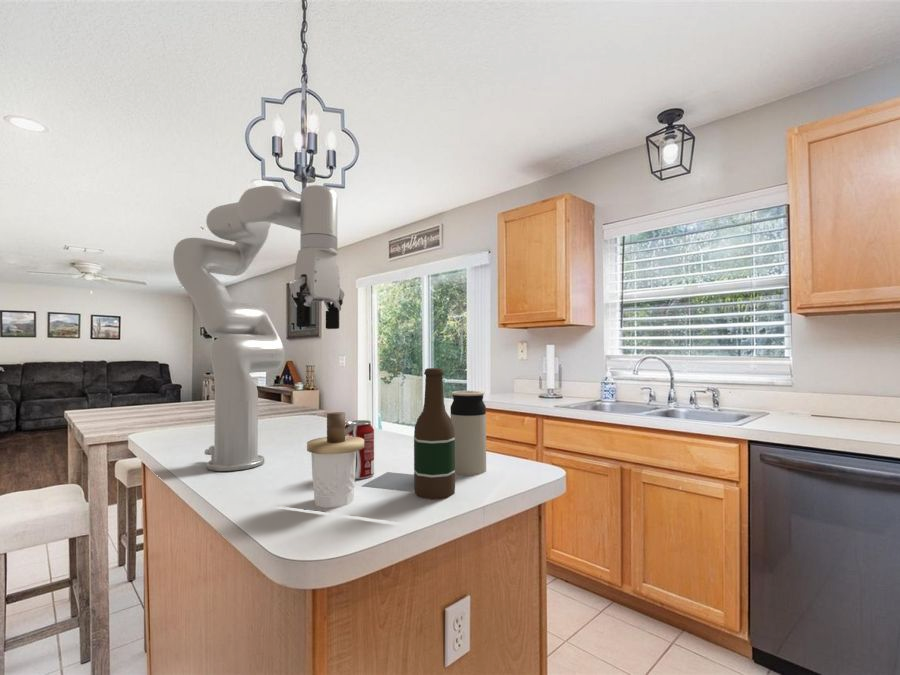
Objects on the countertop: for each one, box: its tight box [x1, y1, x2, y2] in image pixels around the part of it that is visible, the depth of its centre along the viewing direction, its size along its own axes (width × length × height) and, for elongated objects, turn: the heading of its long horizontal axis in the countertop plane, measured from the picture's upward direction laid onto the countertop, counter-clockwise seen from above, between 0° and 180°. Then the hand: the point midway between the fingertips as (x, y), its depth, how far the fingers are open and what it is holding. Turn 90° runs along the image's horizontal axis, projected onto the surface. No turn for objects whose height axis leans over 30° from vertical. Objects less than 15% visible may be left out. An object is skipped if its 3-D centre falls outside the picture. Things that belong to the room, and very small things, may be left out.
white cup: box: [310, 451, 356, 509], centre depth 82 cm, size 8×8×10 cm
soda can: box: [345, 419, 375, 481], centre depth 99 cm, size 7×7×12 cm
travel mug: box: [450, 390, 487, 476], centre depth 103 cm, size 8×8×18 cm
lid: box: [306, 411, 364, 454], centre depth 82 cm, size 10×10×6 cm
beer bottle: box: [413, 367, 456, 501], centre depth 87 cm, size 8×8×24 cm
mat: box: [361, 471, 415, 493], centre depth 94 cm, size 11×11×1 cm
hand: (318, 327), depth 96 cm, fingers open, 9 cm apart
